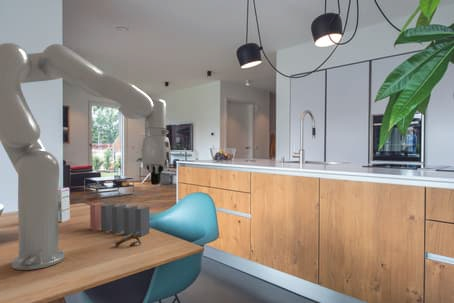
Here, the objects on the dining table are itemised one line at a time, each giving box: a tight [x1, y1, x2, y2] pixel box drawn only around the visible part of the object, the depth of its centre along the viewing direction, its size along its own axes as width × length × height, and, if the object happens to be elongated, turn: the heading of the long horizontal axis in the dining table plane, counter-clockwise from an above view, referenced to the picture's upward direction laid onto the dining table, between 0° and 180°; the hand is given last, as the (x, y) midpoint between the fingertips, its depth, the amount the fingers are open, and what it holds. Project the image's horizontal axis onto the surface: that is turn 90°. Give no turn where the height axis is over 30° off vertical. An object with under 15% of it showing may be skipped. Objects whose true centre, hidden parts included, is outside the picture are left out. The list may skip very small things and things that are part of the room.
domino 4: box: [123, 204, 139, 236], centre depth 110 cm, size 2×5×10 cm, turn 158°
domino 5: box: [135, 206, 150, 238], centre depth 108 cm, size 2×5×10 cm, turn 158°
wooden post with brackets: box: [114, 232, 142, 248], centre depth 96 cm, size 2×8×4 cm, turn 104°
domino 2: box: [100, 202, 116, 233], centre depth 114 cm, size 2×5×10 cm, turn 158°
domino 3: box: [111, 203, 127, 234], centre depth 112 cm, size 2×5×10 cm, turn 158°
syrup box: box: [58, 187, 71, 223], centre depth 128 cm, size 6×6×14 cm
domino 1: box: [89, 202, 106, 231], centre depth 116 cm, size 2×5×10 cm, turn 158°
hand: (155, 184), depth 105 cm, fingers closed
